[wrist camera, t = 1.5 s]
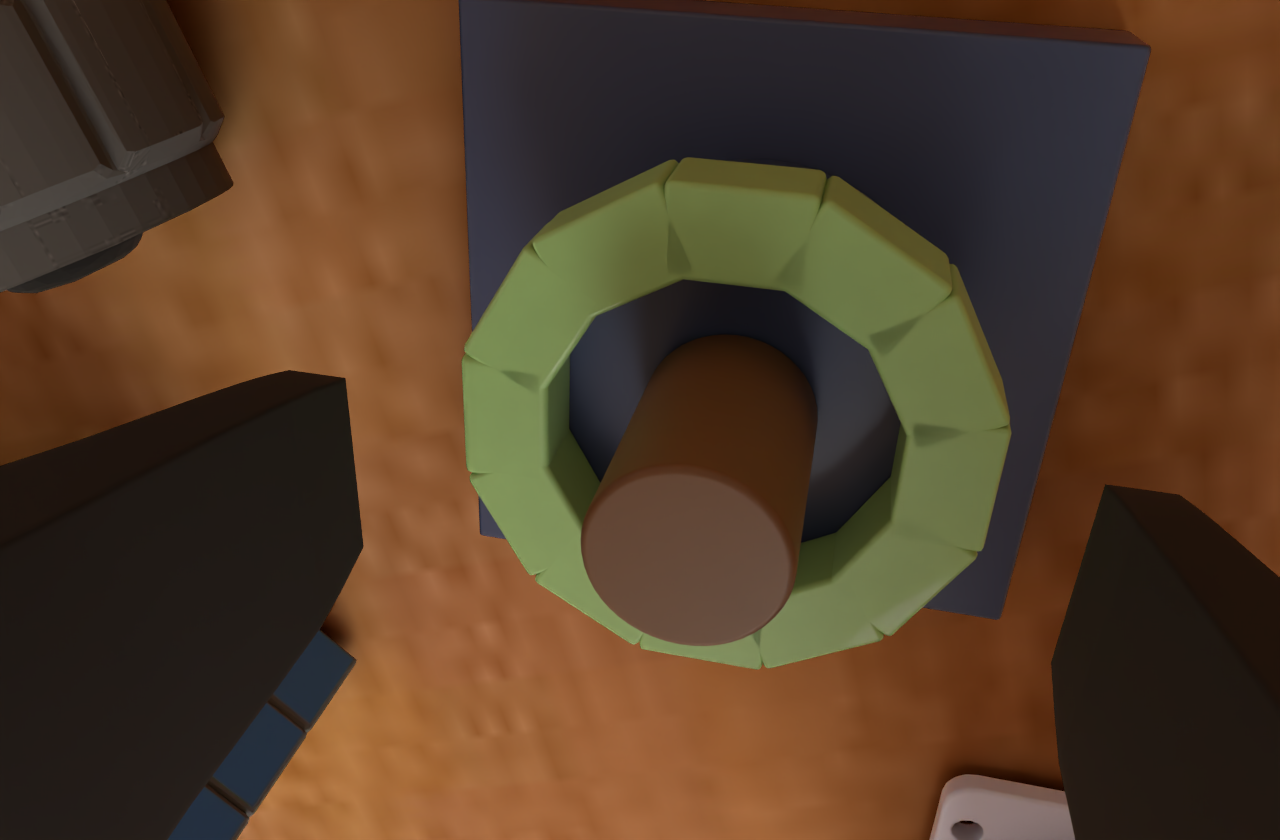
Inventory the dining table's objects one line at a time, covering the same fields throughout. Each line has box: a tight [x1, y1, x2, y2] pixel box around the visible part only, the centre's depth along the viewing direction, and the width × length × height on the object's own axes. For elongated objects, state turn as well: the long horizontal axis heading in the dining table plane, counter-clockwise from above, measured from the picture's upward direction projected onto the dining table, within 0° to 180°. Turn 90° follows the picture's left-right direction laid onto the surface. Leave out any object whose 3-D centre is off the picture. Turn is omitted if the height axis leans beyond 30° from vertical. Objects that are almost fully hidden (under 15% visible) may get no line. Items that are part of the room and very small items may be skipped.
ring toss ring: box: [462, 157, 1011, 670], centre depth 12 cm, size 6×6×1 cm
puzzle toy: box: [168, 629, 356, 840], centre depth 18 cm, size 6×6×6 cm
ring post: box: [459, 0, 1151, 646], centre depth 12 cm, size 8×8×6 cm
